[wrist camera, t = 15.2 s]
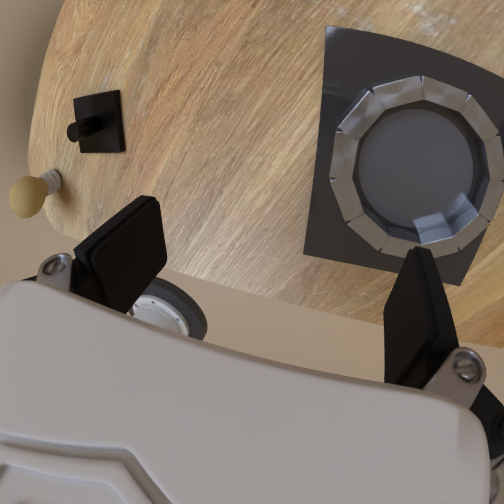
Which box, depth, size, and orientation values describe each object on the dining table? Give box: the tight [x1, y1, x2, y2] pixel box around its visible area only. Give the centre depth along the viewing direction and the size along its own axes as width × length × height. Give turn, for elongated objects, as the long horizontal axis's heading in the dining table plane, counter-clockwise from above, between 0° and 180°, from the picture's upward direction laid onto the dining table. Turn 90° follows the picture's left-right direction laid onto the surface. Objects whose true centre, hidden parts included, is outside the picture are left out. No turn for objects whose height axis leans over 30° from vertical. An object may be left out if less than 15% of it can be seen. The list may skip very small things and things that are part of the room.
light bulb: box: [9, 169, 61, 218], centre depth 35 cm, size 6×6×10 cm
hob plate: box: [303, 26, 504, 286], centre depth 23 cm, size 24×20×1 cm
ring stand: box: [67, 90, 125, 153], centre depth 29 cm, size 8×8×5 cm
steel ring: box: [329, 75, 504, 258], centre depth 22 cm, size 17×17×3 cm
